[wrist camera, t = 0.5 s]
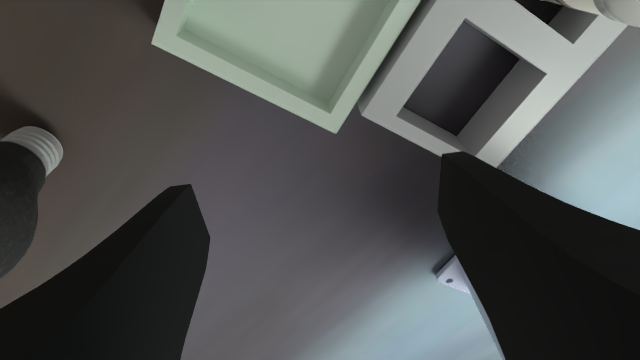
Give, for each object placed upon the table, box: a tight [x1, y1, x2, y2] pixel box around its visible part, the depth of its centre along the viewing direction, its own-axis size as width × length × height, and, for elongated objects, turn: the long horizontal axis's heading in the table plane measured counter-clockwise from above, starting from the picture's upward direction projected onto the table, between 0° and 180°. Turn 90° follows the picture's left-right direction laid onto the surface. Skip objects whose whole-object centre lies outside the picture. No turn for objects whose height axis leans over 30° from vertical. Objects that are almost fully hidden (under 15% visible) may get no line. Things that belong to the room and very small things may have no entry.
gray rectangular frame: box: [357, 0, 628, 168], centre depth 17 cm, size 8×13×2 cm, turn 151°
